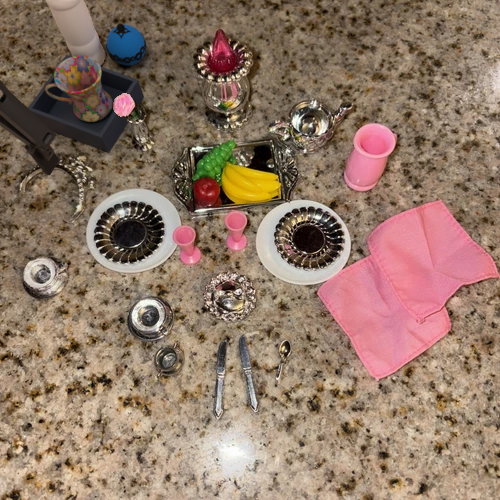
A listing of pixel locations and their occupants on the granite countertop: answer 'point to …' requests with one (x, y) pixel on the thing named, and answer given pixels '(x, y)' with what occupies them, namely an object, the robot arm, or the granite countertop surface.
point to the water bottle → (77, 28)
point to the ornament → (125, 45)
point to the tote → (69, 125)
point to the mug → (82, 88)
